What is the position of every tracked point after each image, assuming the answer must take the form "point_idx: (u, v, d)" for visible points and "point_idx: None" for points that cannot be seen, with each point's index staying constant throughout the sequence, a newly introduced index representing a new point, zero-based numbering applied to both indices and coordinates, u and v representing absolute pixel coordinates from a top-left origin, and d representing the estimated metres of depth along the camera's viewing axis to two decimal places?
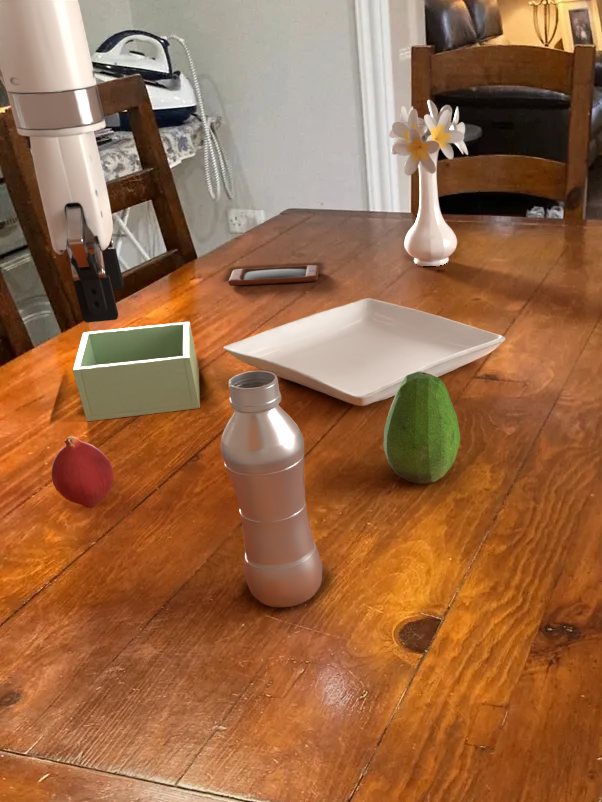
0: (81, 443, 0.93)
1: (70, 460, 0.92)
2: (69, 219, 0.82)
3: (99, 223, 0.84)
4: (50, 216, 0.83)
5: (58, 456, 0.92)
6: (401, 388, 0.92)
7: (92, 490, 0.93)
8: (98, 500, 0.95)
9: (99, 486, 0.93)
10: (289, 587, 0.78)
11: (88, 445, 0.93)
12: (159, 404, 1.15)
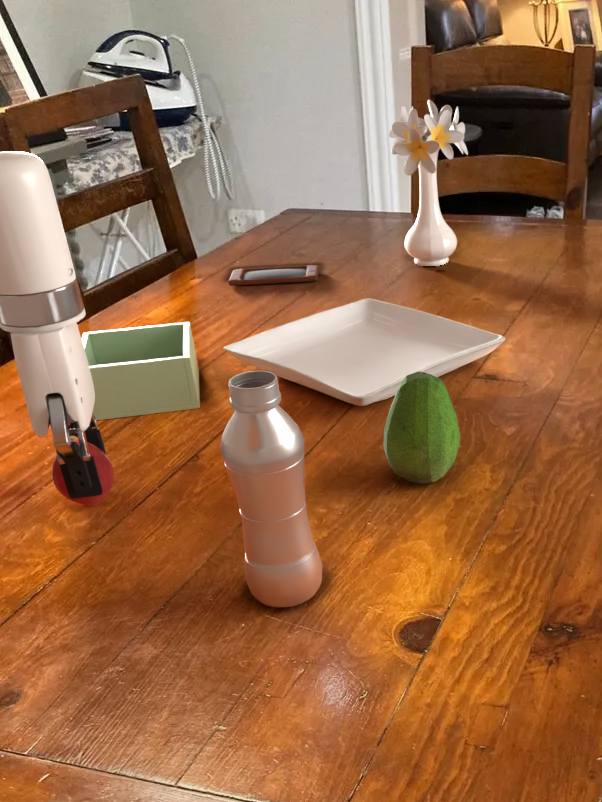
0: None
1: None
2: (53, 417, 0.85)
3: (79, 409, 0.86)
4: (31, 406, 0.85)
5: None
6: (401, 388, 0.92)
7: None
8: (99, 499, 0.95)
9: None
10: (289, 587, 0.78)
11: (89, 444, 0.93)
12: (159, 404, 1.15)
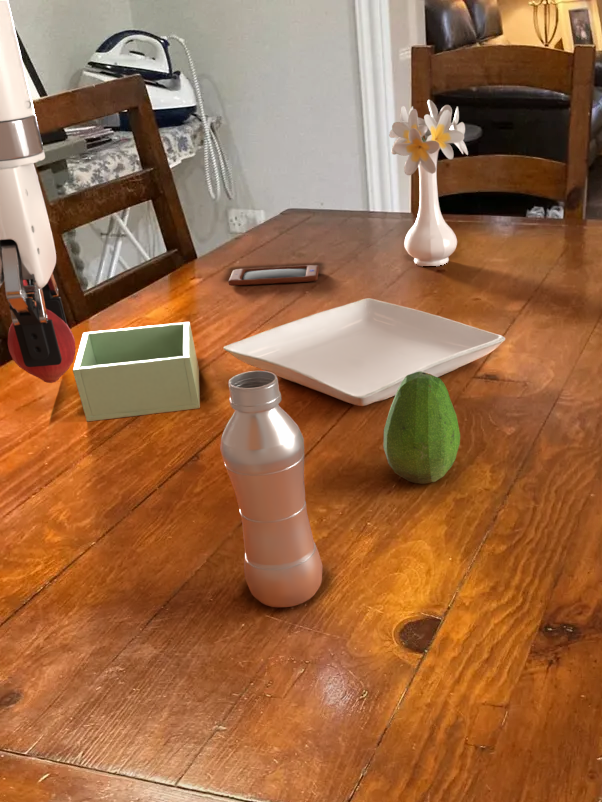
0: None
1: None
2: (6, 267, 0.78)
3: (36, 260, 0.79)
4: None
5: None
6: (401, 388, 0.92)
7: None
8: (58, 373, 0.88)
9: None
10: (289, 587, 0.78)
11: (48, 311, 0.86)
12: (159, 404, 1.15)
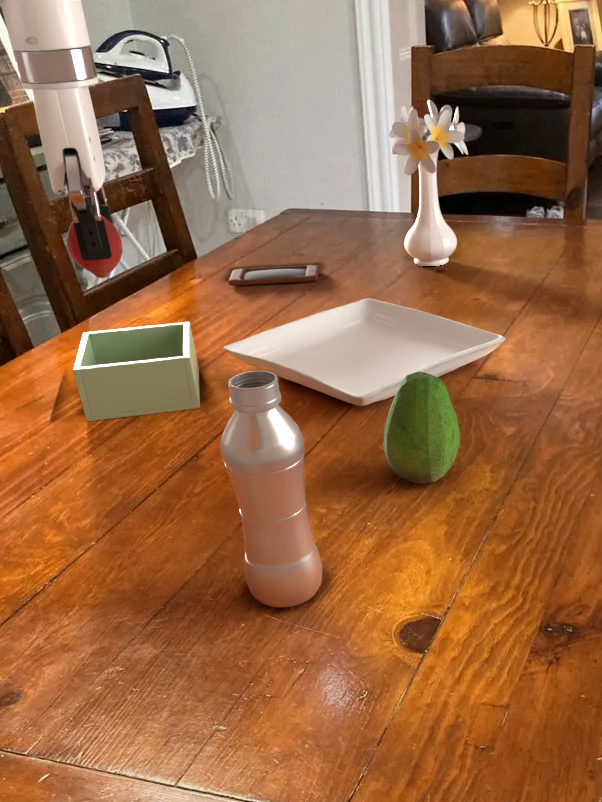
0: None
1: None
2: (69, 170, 0.95)
3: (92, 166, 0.97)
4: (50, 160, 0.95)
5: None
6: (401, 388, 0.92)
7: None
8: (109, 268, 1.06)
9: None
10: (289, 587, 0.78)
11: (100, 215, 1.04)
12: (159, 404, 1.15)
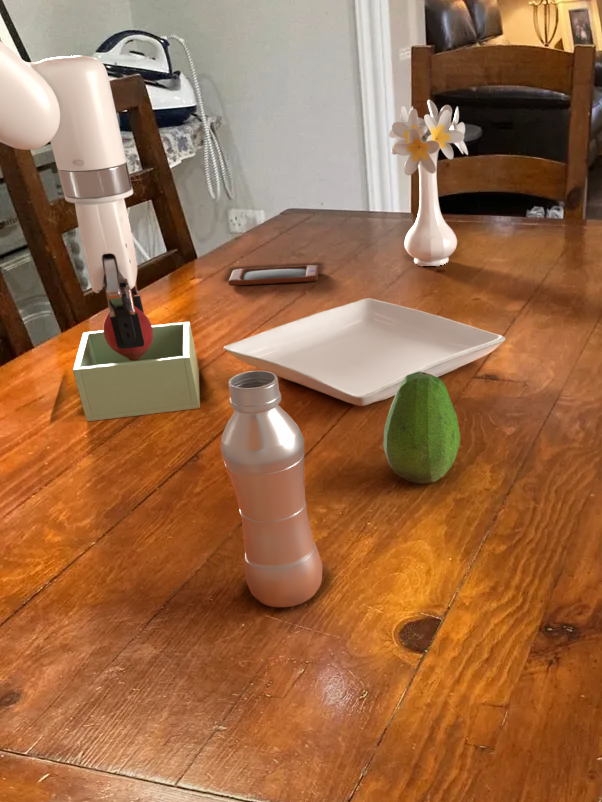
0: None
1: None
2: (107, 274, 1.06)
3: (128, 268, 1.07)
4: (90, 264, 1.06)
5: (109, 314, 1.14)
6: (401, 388, 0.92)
7: None
8: (141, 353, 1.16)
9: None
10: (289, 587, 0.78)
11: None
12: (159, 404, 1.15)
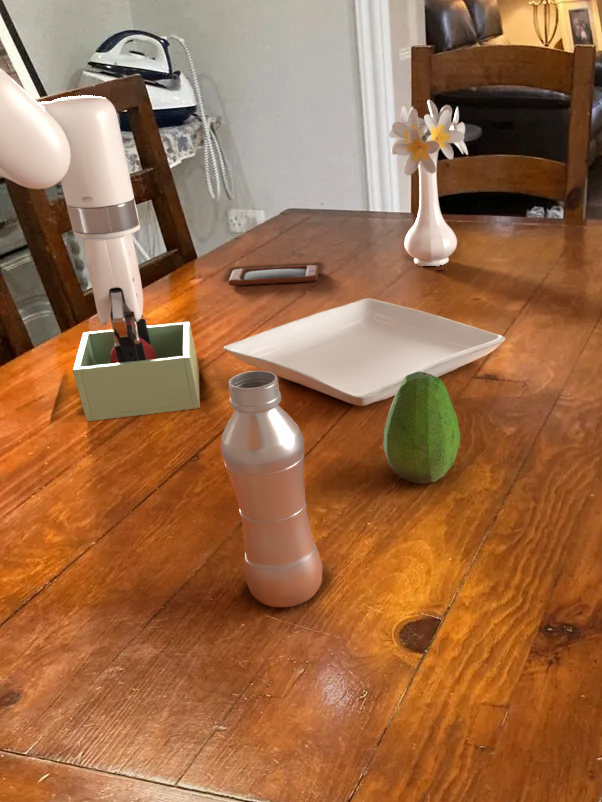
0: None
1: None
2: (113, 302, 1.08)
3: (135, 302, 1.10)
4: (98, 297, 1.08)
5: None
6: (401, 388, 0.92)
7: None
8: None
9: None
10: (289, 587, 0.78)
11: (139, 338, 1.17)
12: (159, 404, 1.15)
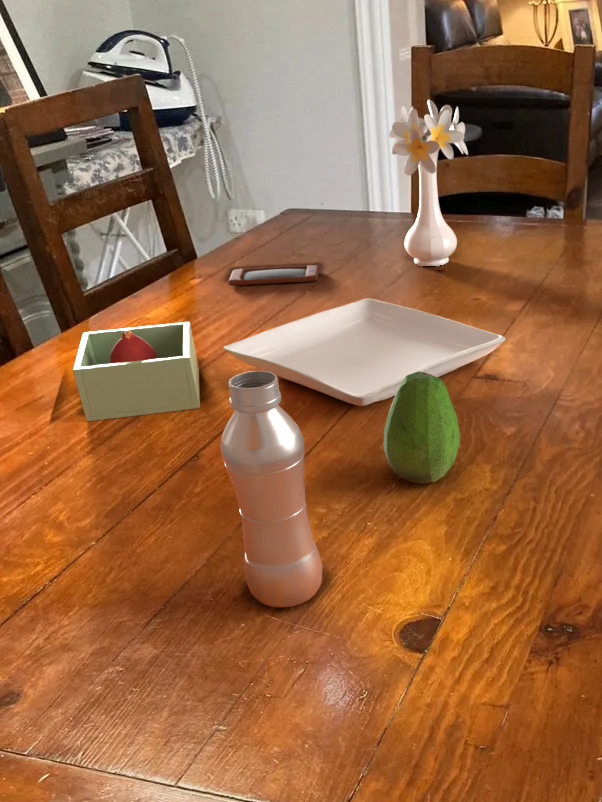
0: (134, 336, 1.16)
1: (126, 348, 1.15)
2: None
3: None
4: None
5: (116, 346, 1.16)
6: (401, 388, 0.92)
7: None
8: None
9: None
10: (289, 587, 0.78)
11: (139, 338, 1.17)
12: (159, 404, 1.15)
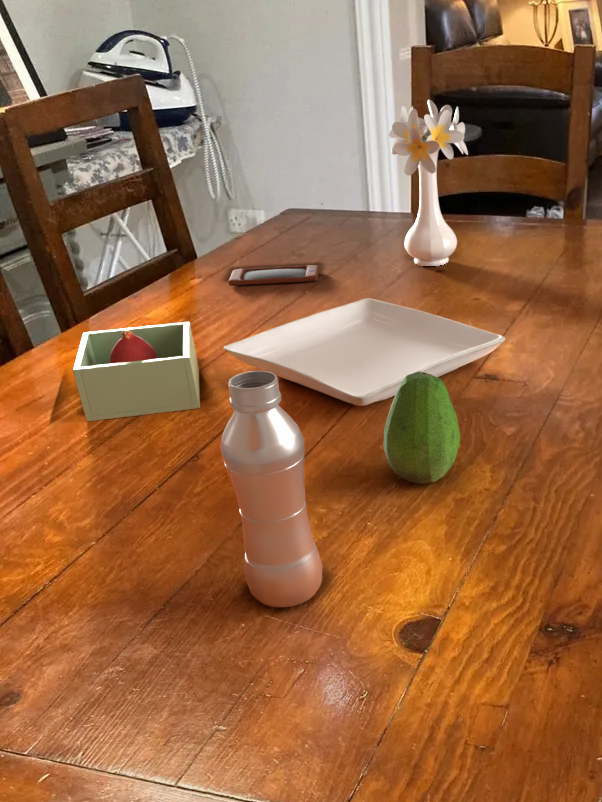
0: (134, 336, 1.16)
1: (126, 348, 1.15)
2: None
3: None
4: None
5: (116, 346, 1.16)
6: (401, 388, 0.92)
7: None
8: None
9: None
10: (289, 587, 0.78)
11: (139, 338, 1.17)
12: (159, 404, 1.15)
